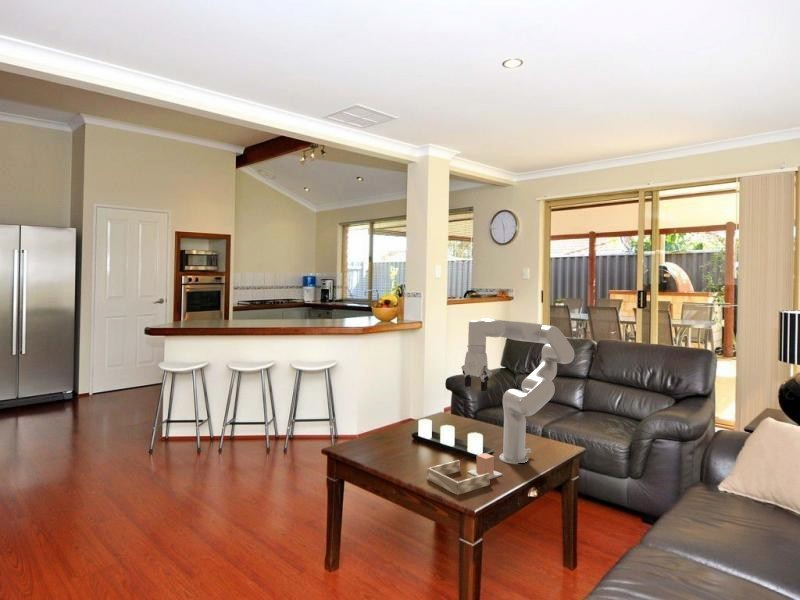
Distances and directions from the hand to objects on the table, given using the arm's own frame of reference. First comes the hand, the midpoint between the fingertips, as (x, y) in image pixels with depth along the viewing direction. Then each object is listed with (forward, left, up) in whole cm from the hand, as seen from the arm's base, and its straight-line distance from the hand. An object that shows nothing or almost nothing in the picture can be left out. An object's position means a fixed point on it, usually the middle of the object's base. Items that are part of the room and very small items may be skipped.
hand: (475, 388), depth 223 cm
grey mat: (+3, +10, -33) cm, 35 cm away
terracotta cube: (+3, +10, -33) cm, 34 cm away
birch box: (+18, +10, -33) cm, 39 cm away
